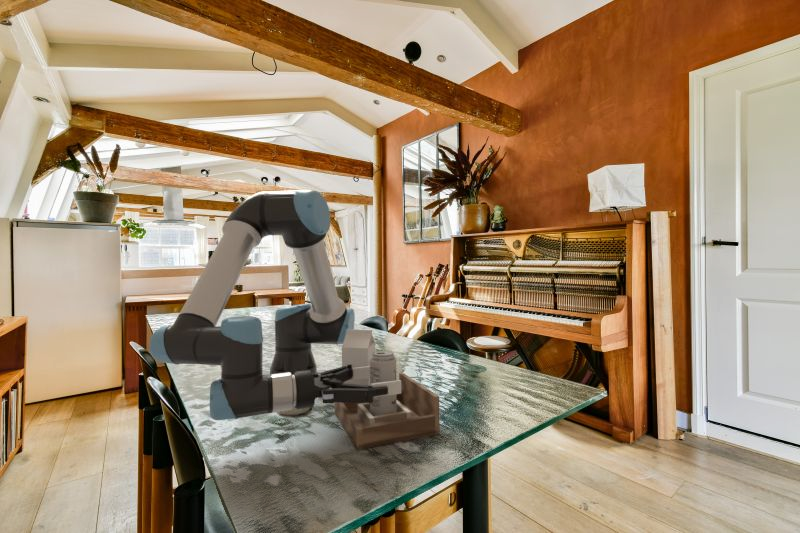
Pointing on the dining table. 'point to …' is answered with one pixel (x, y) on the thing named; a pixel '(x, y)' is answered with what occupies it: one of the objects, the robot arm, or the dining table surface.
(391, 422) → the walled box
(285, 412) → the bread roll
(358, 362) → the milk carton
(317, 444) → the dining table surface
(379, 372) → the energy drink can
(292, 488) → the dining table surface
